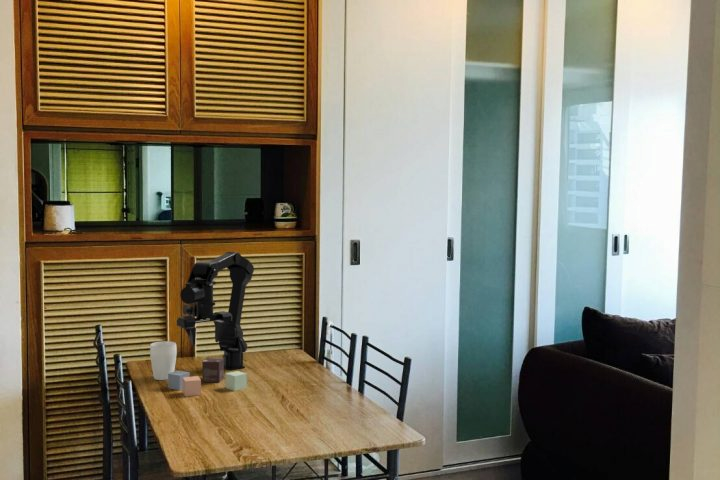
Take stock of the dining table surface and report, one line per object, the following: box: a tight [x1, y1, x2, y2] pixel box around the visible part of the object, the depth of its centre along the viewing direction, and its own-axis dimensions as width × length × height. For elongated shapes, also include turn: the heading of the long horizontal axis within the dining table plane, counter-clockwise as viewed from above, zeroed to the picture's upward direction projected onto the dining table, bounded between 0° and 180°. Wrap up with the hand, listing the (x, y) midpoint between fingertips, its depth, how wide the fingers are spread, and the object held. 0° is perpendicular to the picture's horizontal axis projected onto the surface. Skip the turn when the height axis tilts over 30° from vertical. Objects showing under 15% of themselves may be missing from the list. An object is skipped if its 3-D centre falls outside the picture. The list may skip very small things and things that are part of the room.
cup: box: [149, 340, 178, 381], centre depth 277 cm, size 9×9×12 cm
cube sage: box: [225, 370, 248, 392], centre depth 267 cm, size 5×5×5 cm
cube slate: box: [167, 369, 191, 391], centre depth 266 cm, size 5×5×5 cm
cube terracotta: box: [182, 375, 202, 397], centre depth 259 cm, size 5×5×5 cm
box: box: [201, 357, 225, 383], centre depth 276 cm, size 6×6×7 cm
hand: (205, 343), depth 275 cm, fingers open, 9 cm apart
